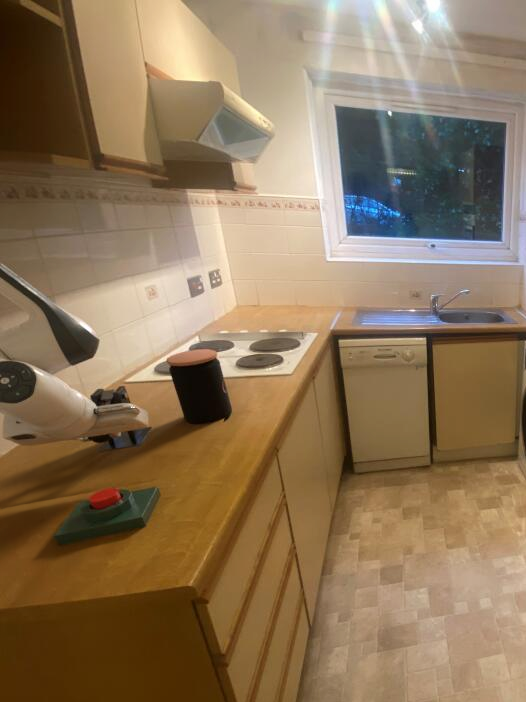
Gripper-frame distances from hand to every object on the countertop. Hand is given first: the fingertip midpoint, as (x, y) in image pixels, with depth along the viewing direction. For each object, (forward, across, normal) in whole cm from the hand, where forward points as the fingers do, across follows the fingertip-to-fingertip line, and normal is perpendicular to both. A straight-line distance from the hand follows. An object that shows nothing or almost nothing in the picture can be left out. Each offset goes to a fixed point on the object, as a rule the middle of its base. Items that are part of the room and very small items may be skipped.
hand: (102, 436), depth 95 cm
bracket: (+11, 0, -2) cm, 12 cm away
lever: (+3, 0, -4) cm, 5 cm away
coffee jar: (+16, -16, -7) cm, 24 cm away
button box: (-12, -7, +22) cm, 26 cm away
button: (-15, -7, +19) cm, 25 cm away
